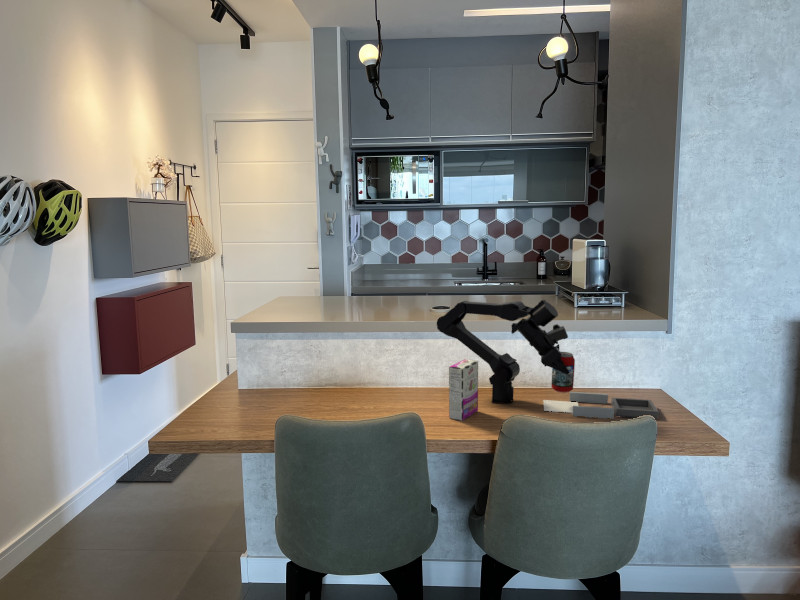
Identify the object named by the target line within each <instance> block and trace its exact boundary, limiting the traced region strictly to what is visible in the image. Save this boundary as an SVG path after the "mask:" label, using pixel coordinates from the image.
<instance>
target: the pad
mask: <svg viewBox="0 0 800 600" xmlns="http://www.w3.org/2000/svg"><path fill="white" fill-rule="evenodd" d="M542 402H543V412H544V411H549V412H548V413H558V412H564V413H563V414H573V406H580V405H579V402H571V401H567V400H565V401H564V400H552V399H551V400H550V399H549V400H547V399H543V401H542ZM551 411H552V412H551ZM565 412H566V413H565Z"/></svg>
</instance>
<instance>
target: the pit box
mask: <svg viewBox="0 0 800 600" xmlns="http://www.w3.org/2000/svg"><path fill="white" fill-rule="evenodd" d="M610 405H611V408H614V416H615V417H616V416H620V417H619V418H626V417H628V418H630V419H634V418H633V417H639V416H643V415H651V416H653V417H654V418H655V419H654V420H659V410H658V409H657V407H656V406H655V404H654V402H653V401H652V399H643V398H626V397H625V398H624V397H611V403H610Z"/></svg>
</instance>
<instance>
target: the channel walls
mask: <svg viewBox="0 0 800 600" xmlns="http://www.w3.org/2000/svg"><path fill="white" fill-rule="evenodd" d="M568 399H569V401H568V402H571V401H576V402H578V403H586V404H587V403H590V404H606V405H607V404H608V403H609V401H608V400H609V394H608V393H603V392H602V393H599V392H583V391H582V392H580V391H570V392H569V397H568ZM572 416H573V417H577V416H585V417H584V418H592V417H598V418H597V419H607V418H610V419H609V420H614V419H615V413H614V408H612V407H603V406H602V407H601V406H599V407H598V406H585V405H579V406H573V413H572ZM611 418H612V419H611Z"/></svg>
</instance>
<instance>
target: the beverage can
mask: <svg viewBox="0 0 800 600" xmlns="http://www.w3.org/2000/svg"><path fill="white" fill-rule="evenodd" d="M561 360H562V361H563V363H564V364H565V366H566V367H567V369H568V370H569V372H570V373H569V374H565V373H563V372H560V371H558V370H556V369H553V368H551V370H552V371H551V389H553V390H554V391H556V392H558V393H563V394H564V393H565V394H566V393H570V392H572V391H573V390H574V382H575V381H574V379H575V366H576V365H575V364H576V359H575V357H574V353H572V352H568V351H561Z"/></svg>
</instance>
